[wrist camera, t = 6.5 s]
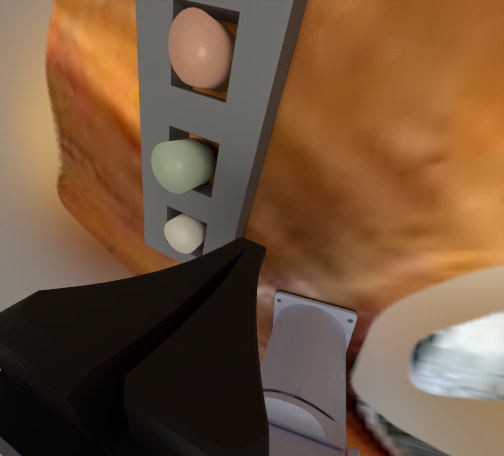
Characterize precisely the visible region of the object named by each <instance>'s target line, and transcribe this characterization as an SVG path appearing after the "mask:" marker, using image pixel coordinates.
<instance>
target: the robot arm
mask: <svg viewBox="0 0 504 456" xmlns="http://www.w3.org/2000/svg"><path fill="white" fill-rule="evenodd" d="M266 251H267V249H266V247H264V246H262V245H259V244H257V243H255V242H252V241H250V240H248V239H245V238H243V237H239V238H237V239H235V240H233V241H231V242H229V243H227V244H226V245H223V246H221V247H219V248H217V249H215V250H213V251H211V252H209V253H207V254H204V255H202V256H200V257H197V258H195V259H192V260H190V261H187V262H184V263H182V264H179V265H176V266H173V267H170V268H167V269H163V270H160V271H156V272H152V273H148V274H144V275H140V276H135V277H131V278H126V279H121V280H116V281H110V282H105V283H98V284H92V285H85V286H76V287H67V288H59V289H50V290H39V291H37V292H35V293H34V294H32V295H30V296H28V297H26V298H25V299H23V300H21V301H19V302H18V303H16V304H14V305H12V306H11V307H9V308H7V309H5V310H3V311H2V312H0V369H1V371H0V453H1V454H2V455H3V456H348V449H347V437H346V351H347V348H348V345H349V342H350V339H351V336H352V333H353V330H354V327H355V324H356V321H357V314H356V313H355V312H354V311H351V310H347V309H343V308H340V307H336V306H332V305H329V304H325V303H321V302H318V301H314V300H310V299H307V298H303V297H299V296H296V295H292V294H288V293H285V292H281V291H277V292H276V294H275V300H274V315H273V330H272V333H271V336H270V339H269V342H268V345H267V348H266V350H265V353H264V356H263V359H262V362H261V365H260V363H259V351H258V340H257V321H256V303H257V286H258V278H259V272H260V269H261V266H262V263H263V260H264V257H265V254H266ZM279 299H281V300H279ZM349 319H352V320H349ZM349 456H360V452H359V450H358V449H356V448H353V447H350V446H349Z"/></svg>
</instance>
